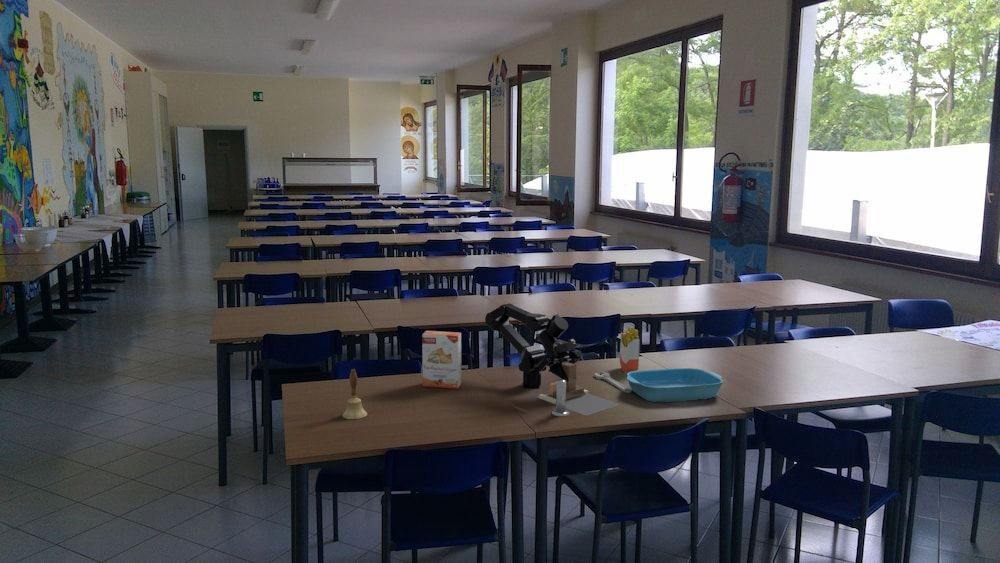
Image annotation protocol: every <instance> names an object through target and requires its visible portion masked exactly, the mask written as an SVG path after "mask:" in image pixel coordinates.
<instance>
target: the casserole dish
mask: <svg viewBox="0 0 1000 563" xmlns="http://www.w3.org/2000/svg"><path fill="white" fill-rule="evenodd" d="M626 380H627V382H628V384H629V385H628V386H629V387H630V389H631V391H632V392H634V393H635V394H636V395H637V396H639V397H641V399H644V400H645V401H648V402H654V403H669V402H670V403H671V402H675V403H676V402H683V401H684V402H688V401H687V400H690V401H698V400H697V399H701V400H708V399H707V398H709V399H713V398H715V397H716V396H717V395H718V393H719V391H720V389H721V387H722V385H723V382H724V380H723V379H722V376H721V375H720V374H718V373H715V372H713V371H708V370H705V369H701V368H694V367H680V368H679V367H677V368H676V367H675V368H663V369H662V368H660V369H645V370H644V369H643V370H637V371H632V372H629V373H626ZM712 397H713V398H712Z"/></svg>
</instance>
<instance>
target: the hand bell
mask: <svg viewBox="0 0 1000 563" xmlns="http://www.w3.org/2000/svg"><path fill="white" fill-rule="evenodd" d="M349 384H350V388H351V398H349V399H348V400H347V402H346V405H347V406H346V409H345V411H344V412H343V413H342V418H343V419H345V420H359V419H363V418H365V417H367V416H368V412H367V411H366V410H365V409H364V407H363V404H362V400H361V398H360V397H359V398H358V395H357V394H358V393H357V384H358V375H357V372H356V369H355V368H352V369H350V373H349Z"/></svg>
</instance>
